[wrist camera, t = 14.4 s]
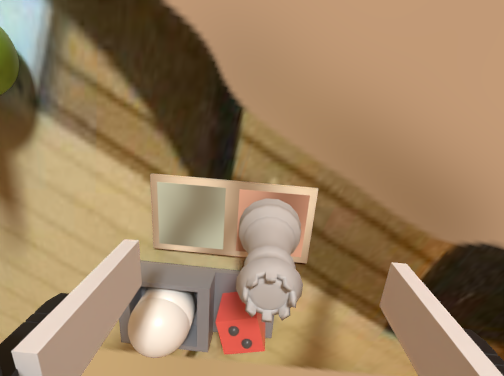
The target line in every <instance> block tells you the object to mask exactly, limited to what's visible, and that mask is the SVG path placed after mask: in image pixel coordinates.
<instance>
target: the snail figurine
mask: <svg viewBox="0 0 504 376" xmlns="http://www.w3.org/2000/svg"><path fill="white" fill-rule="evenodd" d="M18 71H19V60H18V55H17V52H16V49H15V47H14V45H13V43H12V41H11V39H10V38H9V37H8V35H7V34H6V33H5V31H4V30H3V29H2V28H1V27H0V95H2V94H3V93H5V92H6V91H7V90H8V89H10V87H11V86H12V85H13V84H14V82H15V80H16V78H17V76H18Z"/></svg>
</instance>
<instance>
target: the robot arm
mask: <svg viewBox="0 0 504 376" xmlns="http://www.w3.org/2000/svg"><path fill="white" fill-rule="evenodd" d="M141 285H142V279H141V264H140V249H139V240H127V239H124V240H123V241H122V242H121V243H120V244H119V245H118V246H117V247H116V248H115V249H114V250H113V251H112V252H111V253H110V254H109V255H108V256H107V257H106V258H105V259H104V260H103V261H102V262H101V263H100V264H99V265H98V266H97V267H96V268H95V269H94V270H93V271H92V272H91V273H90V274H89V275H88V276H87V277H86V278H85V279H84V280H83V281H82V282H81V283H80V284H79V285H78V286H77V287H76V288H75V289H74V290H73V291H72V292H71V293H70V294H66V293H60V294H58V295H57V296H55V297H53V298H51V299H50V300H48V301H46V302H45V303H44V304H43V305H42V306H41V307H40V308H39V309H38V310H37V311H35V314H32V315H31V316H30V317H29V318H28V319H27V320H26V322H25V323H22V324H21V325H20V326H19V327H18V328H17V329H16V330H15V331H14V332H13V333H12V334H10V335H9V336H8V337H7V338H6V339H5V340H4V341H3V342H2V343H1V344H0V376H81V375H82V373H83V372H84V370H85V369H86V367H87V366H88V364H89V363H90V361H91V360H92V358H93V357H94V355H95V354H96V352H97V351H98V349H99V348H100V346H101V345H102V343H103V342H104V340H105V339H106V338H107V336H108V335H109V333H110V332H111V330H112V329H113V327H114V326H115V324H116V323H117V321H118V320H119V318H120V317H121V315H122V314H123V312H124V311H125V309H126V308H127V306H128V305H129V303H130V302H131V300H132V299H133V297H134V296H135V294H136V293H137V291H138V290H139V288H140V287H141ZM380 308H381V310H382V311H383V313H384V315H385V317H386V318H387V320H388V322H389V324H390V326H391V327H392V329H393V331H394V333H395V335H396V336H397V338H398V340H399V342H400V344H401V345H402V347H403V349H404V351H405V353H406V354H407V356H408V358H409V360H410V361H411V363H412V365H413V367H414V369H415V370H416V372H417V374H418V376H504V361H503V360H502V359H501V358H500V356H497V353H496V352H495V351H494V350H493V349H492V348H491V347H490V346H489V344H488V343H487V342H486V341H485V340H483V339H482V338H481V337H479V336H478V335H477V334H475V333H474V332H473V331H471V330H468V329H462V327H461V326H460V325H459V324H458V323H457V322H456V321H455V319H454V318H453V317H452V316H451V315H450V314H449V312H448V311H447V310H446V309H445V308H444V307H443V306H442V304H441V303H440V302H439V301H438V300H437V299H436V297H435V296H434V295H433V294H432V293H431V292H430V291H429V289H428V288H427V287H426V286H425V285H424V284H423V282H422V281H421V280H420V279H419V278H418V277H417V276H416V274H415V273H414V272H413V271H412V270H411V269H410V267H409V266H408V265H407V264H403V263H391V265H390V269H389V273H388V277H387V280H386V284H385V288H384V291H383V295H382V299H381V302H380Z"/></svg>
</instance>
